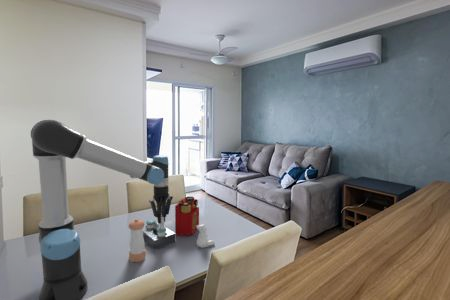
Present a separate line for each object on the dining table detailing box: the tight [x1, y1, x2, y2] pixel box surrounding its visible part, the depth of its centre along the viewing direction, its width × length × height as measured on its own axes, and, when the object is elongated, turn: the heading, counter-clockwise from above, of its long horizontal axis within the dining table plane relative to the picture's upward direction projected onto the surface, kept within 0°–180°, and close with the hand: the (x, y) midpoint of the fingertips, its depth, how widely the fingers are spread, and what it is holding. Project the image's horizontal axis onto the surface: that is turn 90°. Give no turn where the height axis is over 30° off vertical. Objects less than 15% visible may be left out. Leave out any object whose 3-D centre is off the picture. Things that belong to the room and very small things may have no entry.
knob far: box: [145, 219, 156, 229], centre depth 138 cm, size 5×5×7 cm
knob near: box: [157, 226, 167, 237], centre depth 129 cm, size 5×5×7 cm
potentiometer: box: [153, 220, 159, 231], centre depth 133 cm, size 3×3×5 cm
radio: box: [174, 195, 200, 237], centre depth 144 cm, size 16×10×20 cm, turn 168°
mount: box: [143, 221, 176, 251], centre depth 134 cm, size 12×20×5 cm, turn 44°
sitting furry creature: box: [196, 223, 216, 249], centre depth 128 cm, size 10×9×12 cm
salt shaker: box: [128, 218, 146, 263], centre depth 114 cm, size 7×7×19 cm
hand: (161, 228), depth 129 cm, fingers closed
